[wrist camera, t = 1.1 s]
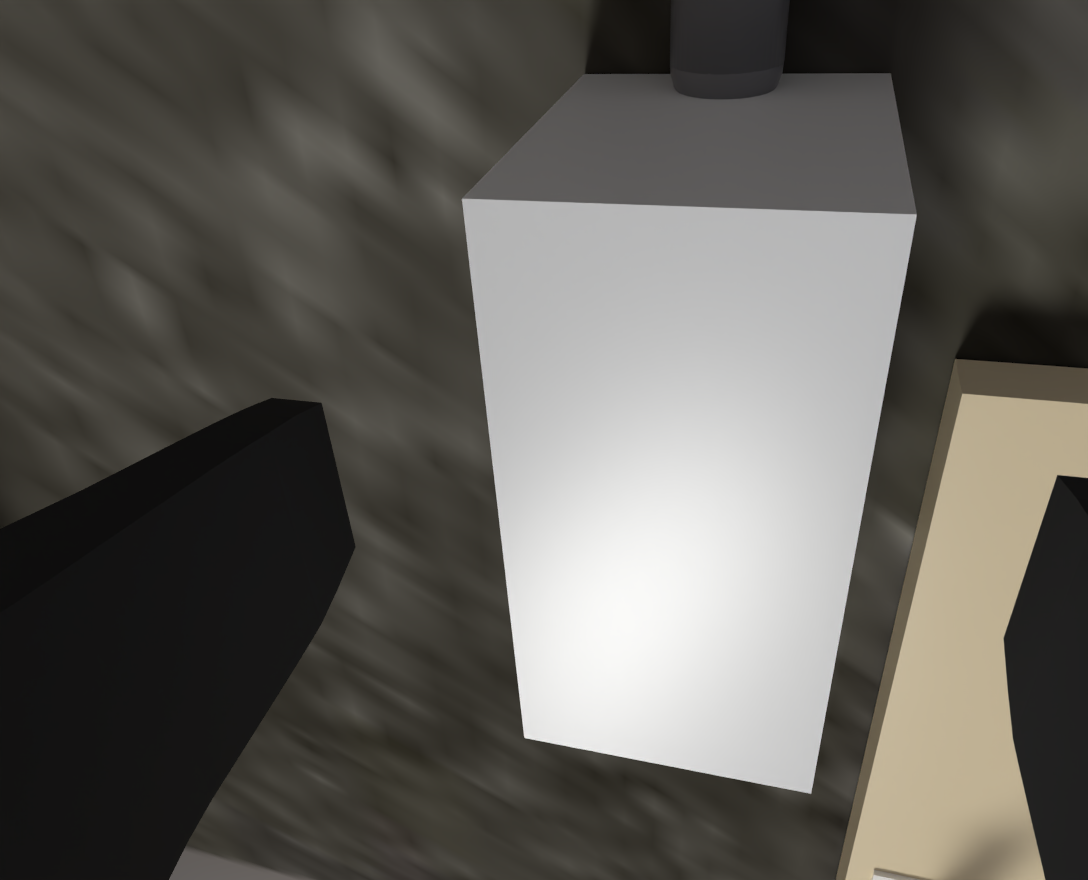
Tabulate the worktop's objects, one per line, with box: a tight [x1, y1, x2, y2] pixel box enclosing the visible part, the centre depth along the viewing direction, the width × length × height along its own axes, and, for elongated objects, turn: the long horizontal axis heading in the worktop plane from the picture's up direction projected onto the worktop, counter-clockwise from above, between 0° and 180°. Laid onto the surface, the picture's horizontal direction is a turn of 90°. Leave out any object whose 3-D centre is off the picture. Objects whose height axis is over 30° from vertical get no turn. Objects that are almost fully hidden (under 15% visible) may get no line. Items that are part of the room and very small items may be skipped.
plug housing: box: [462, 0, 917, 794], centre depth 10 cm, size 4×14×5 cm, turn 3°
